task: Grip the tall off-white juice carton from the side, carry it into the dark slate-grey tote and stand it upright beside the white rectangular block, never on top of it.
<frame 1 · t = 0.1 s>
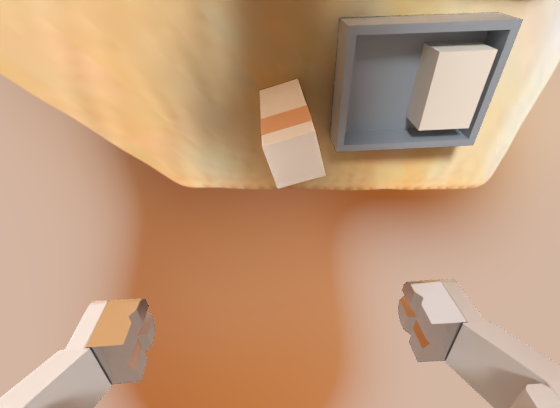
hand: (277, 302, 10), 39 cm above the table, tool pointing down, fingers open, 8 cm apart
juice carton: (283, 103, 46), on the table
tote: (404, 80, 45), on the table
white rectangular block: (439, 81, 45), point 1 cm above the table, touching tote
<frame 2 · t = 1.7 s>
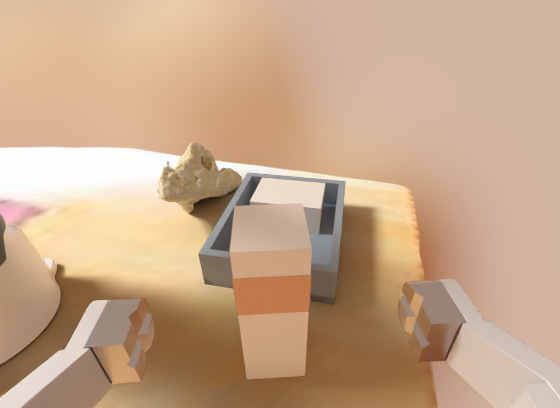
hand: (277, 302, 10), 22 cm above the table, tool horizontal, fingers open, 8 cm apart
beige rock: (203, 207, 55), on the table
juice carton: (274, 350, 33), on the table
tote: (283, 240, 47), on the table
white rectangular block: (289, 216, 50), point 1 cm above the table, touching tote
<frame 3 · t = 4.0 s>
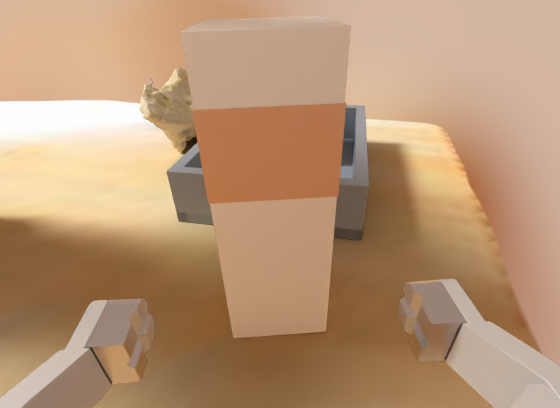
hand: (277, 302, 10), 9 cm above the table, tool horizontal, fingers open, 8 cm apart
beige rock: (197, 147, 44), on the table
juice carton: (277, 298, 21), on the table
tote: (286, 175, 36), on the table
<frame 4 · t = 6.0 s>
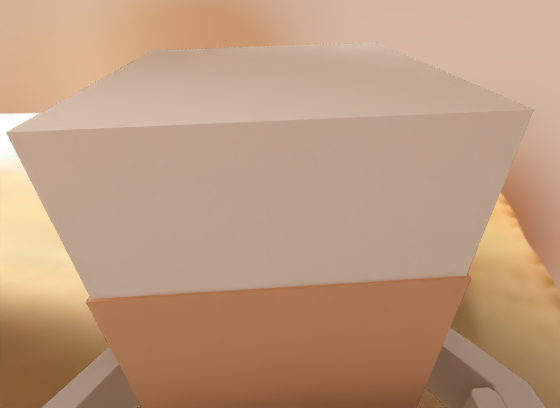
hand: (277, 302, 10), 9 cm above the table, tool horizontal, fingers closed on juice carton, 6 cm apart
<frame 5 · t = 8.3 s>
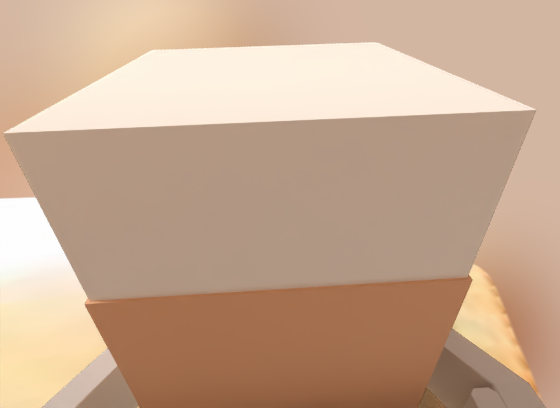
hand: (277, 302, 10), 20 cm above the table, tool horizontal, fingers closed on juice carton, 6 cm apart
when the fingers open (11 cm above the table, at t = 10.6 s): juice carton drops 1 cm, resting on tote.
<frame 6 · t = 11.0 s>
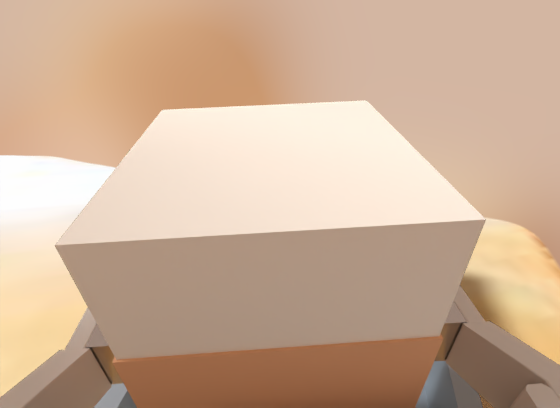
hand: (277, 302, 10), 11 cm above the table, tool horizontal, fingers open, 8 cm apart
tote: (298, 379, 19), on the table
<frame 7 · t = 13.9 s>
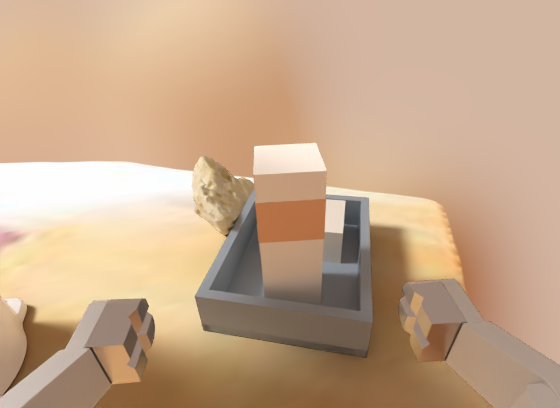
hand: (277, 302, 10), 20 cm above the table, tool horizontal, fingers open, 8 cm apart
beige rock: (233, 225, 48), on the table
juice carton: (291, 292, 35), point 1 cm above the table, touching tote
tote: (297, 270, 39), on the table
white rectangular block: (303, 240, 43), point 1 cm above the table, touching tote
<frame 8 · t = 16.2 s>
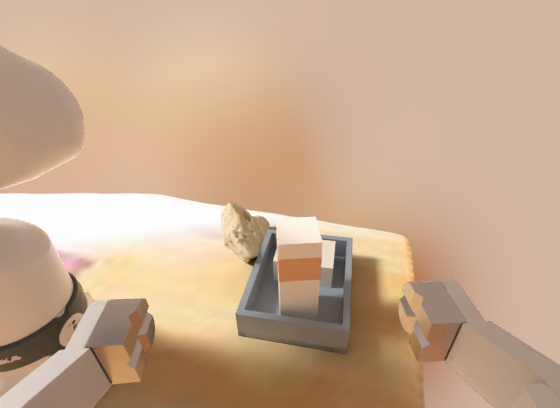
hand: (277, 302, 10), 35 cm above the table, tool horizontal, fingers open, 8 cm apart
beige rock: (251, 253, 64), on the table
juice carton: (297, 309, 51), point 1 cm above the table, touching tote
tote: (301, 292, 56), on the table
white rectangular block: (304, 269, 59), point 1 cm above the table, touching tote
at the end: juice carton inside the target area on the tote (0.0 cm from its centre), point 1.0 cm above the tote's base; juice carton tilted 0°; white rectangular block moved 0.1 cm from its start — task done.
